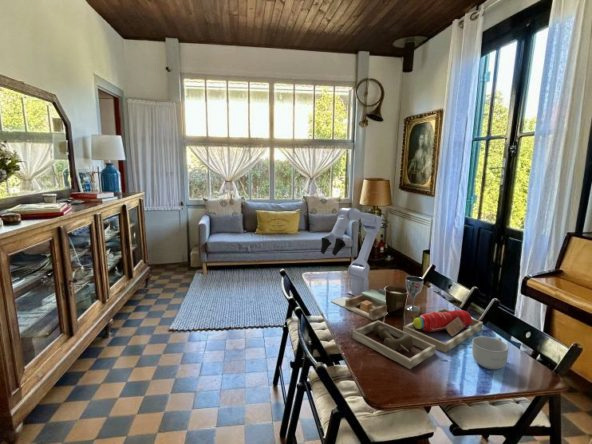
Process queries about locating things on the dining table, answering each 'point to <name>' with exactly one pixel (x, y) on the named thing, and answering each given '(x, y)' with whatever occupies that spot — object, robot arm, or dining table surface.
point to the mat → (340, 301)
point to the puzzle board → (376, 312)
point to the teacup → (490, 352)
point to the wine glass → (413, 290)
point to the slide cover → (376, 295)
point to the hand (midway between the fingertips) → (327, 253)
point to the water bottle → (444, 321)
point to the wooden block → (366, 306)
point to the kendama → (389, 341)
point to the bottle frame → (451, 343)
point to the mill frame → (403, 360)
